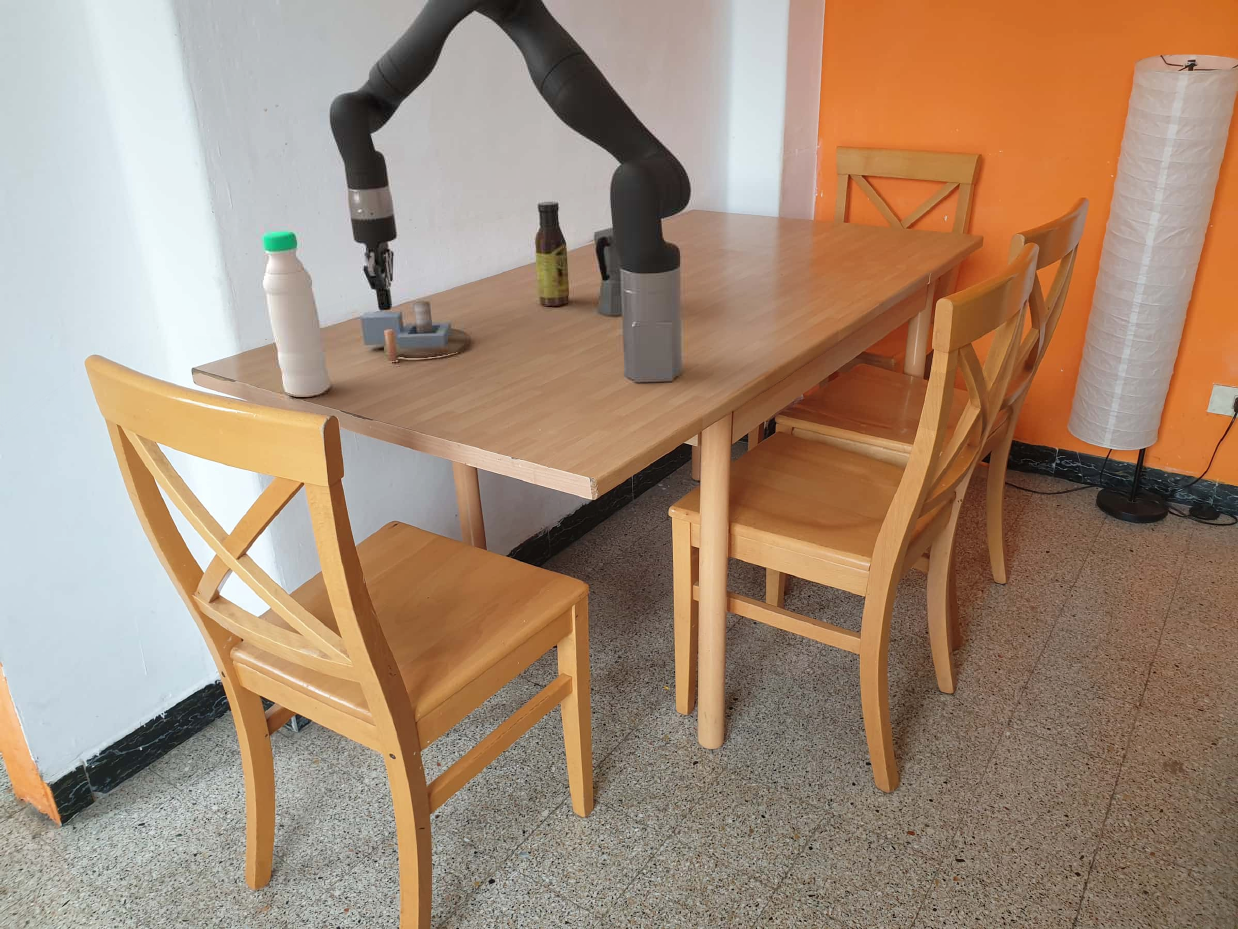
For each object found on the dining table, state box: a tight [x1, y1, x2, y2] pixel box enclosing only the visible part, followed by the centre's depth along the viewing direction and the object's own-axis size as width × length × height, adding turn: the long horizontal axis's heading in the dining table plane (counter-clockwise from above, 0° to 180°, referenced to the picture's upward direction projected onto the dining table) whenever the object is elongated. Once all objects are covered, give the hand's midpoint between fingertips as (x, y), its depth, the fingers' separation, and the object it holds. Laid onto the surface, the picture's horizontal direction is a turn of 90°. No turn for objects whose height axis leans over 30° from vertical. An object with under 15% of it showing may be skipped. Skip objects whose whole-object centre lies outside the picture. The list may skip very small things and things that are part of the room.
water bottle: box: [262, 230, 331, 395], centre depth 147 cm, size 7×7×25 cm
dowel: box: [384, 329, 399, 362], centre depth 163 cm, size 2×2×6 cm
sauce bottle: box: [534, 201, 570, 307], centre depth 190 cm, size 7×6×20 cm
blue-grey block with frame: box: [360, 310, 452, 348], centre depth 169 cm, size 14×8×5 cm, turn 90°
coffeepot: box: [593, 226, 622, 318], centre depth 182 cm, size 15×9×18 cm, turn 156°
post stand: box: [382, 300, 470, 358], centre depth 169 cm, size 15×15×8 cm
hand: (385, 308), depth 175 cm, fingers closed
